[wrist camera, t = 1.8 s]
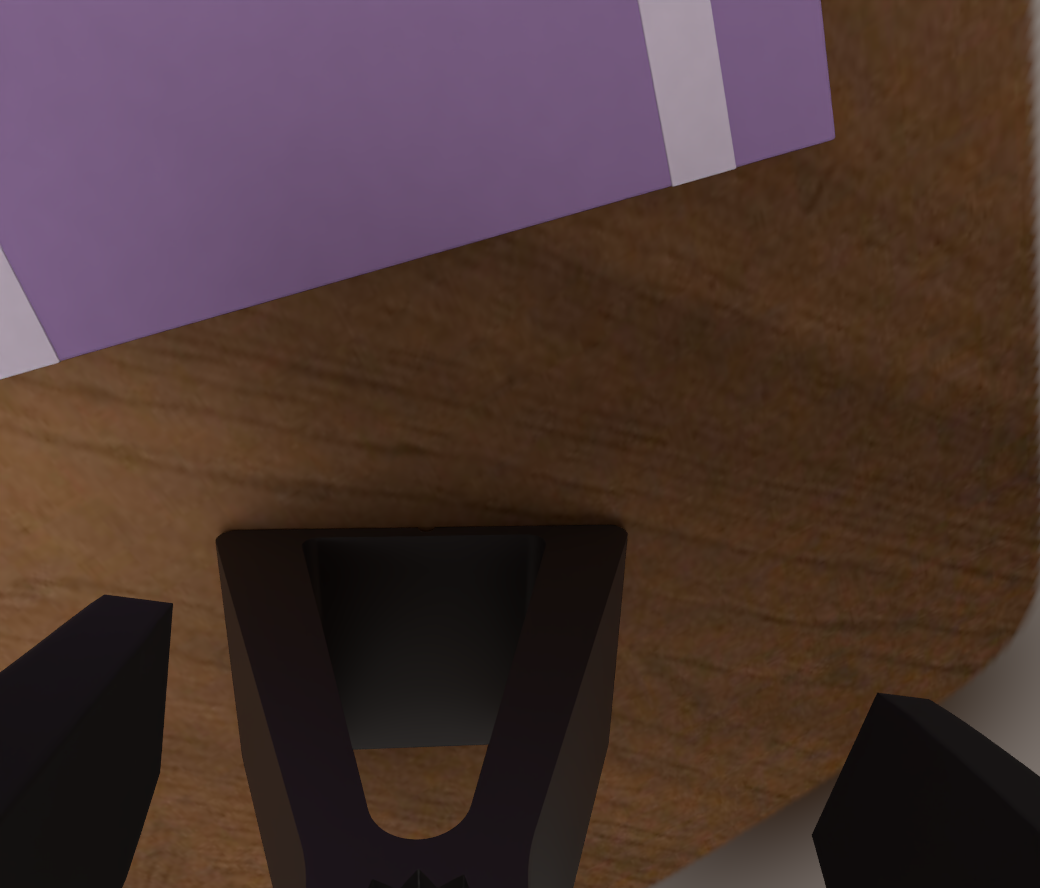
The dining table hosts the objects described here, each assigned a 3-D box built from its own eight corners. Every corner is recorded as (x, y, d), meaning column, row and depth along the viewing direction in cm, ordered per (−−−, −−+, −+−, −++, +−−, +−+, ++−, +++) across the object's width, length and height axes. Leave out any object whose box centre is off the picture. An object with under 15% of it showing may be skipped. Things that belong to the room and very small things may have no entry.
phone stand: (625, 524, 20) (851, 1087, 9) (605, 731, 22) (765, 1372, 12) (219, 528, 19) (-68, 1152, 8) (244, 742, 22) (46, 1446, 11)
